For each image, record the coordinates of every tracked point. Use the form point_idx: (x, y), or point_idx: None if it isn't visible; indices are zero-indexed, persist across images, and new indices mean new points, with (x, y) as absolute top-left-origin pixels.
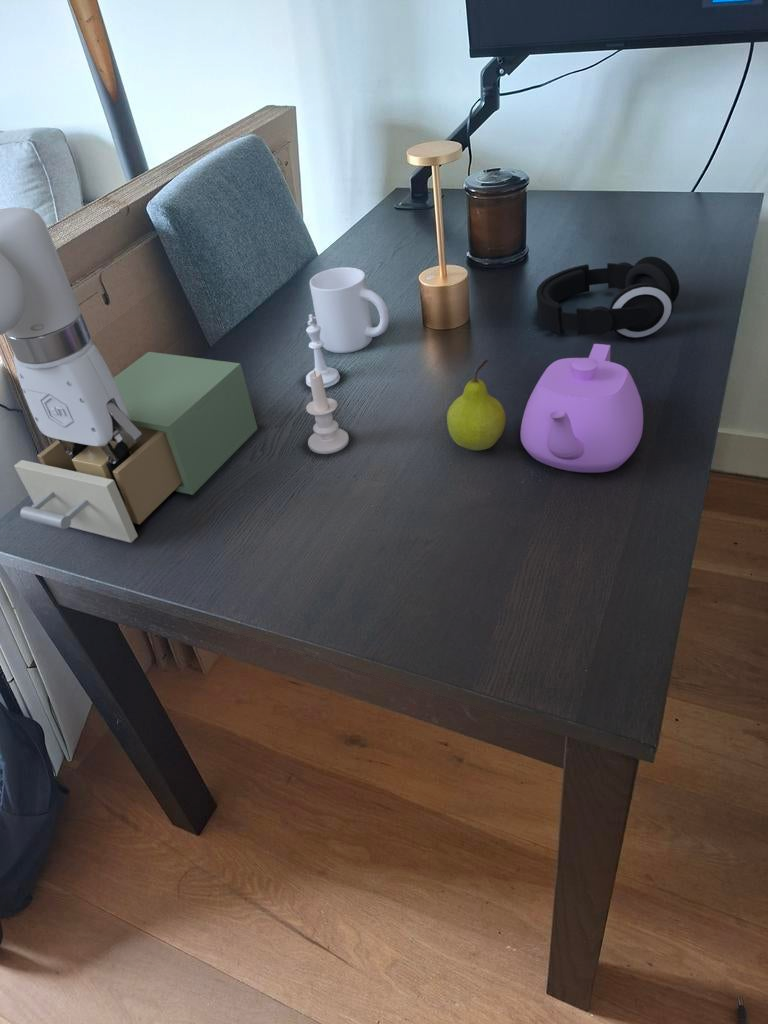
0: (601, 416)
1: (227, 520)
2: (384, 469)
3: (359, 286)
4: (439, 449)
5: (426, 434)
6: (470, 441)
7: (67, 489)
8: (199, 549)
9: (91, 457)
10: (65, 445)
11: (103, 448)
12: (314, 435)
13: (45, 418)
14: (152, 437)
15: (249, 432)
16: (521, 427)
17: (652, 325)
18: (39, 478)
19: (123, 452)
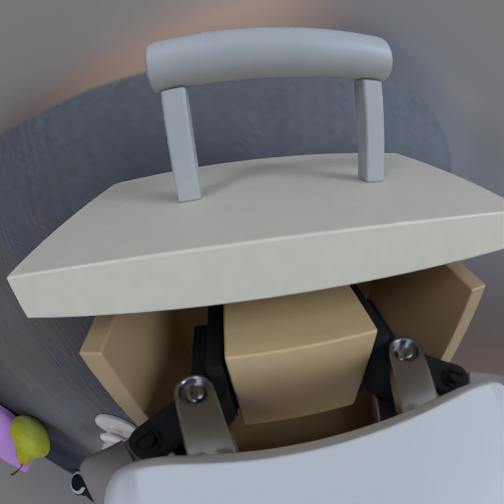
0: None
1: None
2: (45, 400)
3: None
4: (45, 417)
5: (68, 429)
6: (15, 421)
7: (279, 200)
8: (35, 242)
9: (309, 367)
10: (417, 365)
11: (215, 431)
12: (132, 430)
13: (486, 490)
14: None
15: None
16: (8, 428)
17: (75, 475)
18: (435, 199)
19: (146, 424)
